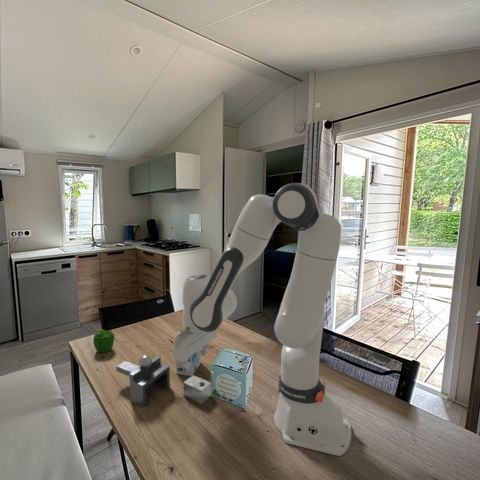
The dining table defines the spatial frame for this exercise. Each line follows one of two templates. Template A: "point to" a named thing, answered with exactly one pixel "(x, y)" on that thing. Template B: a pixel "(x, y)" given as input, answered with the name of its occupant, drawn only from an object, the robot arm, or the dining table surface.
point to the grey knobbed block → (197, 389)
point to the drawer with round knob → (145, 377)
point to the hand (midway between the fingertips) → (195, 360)
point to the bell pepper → (103, 340)
